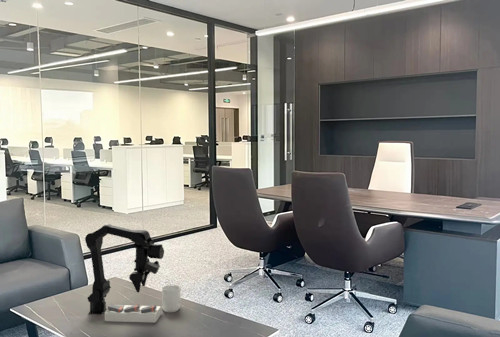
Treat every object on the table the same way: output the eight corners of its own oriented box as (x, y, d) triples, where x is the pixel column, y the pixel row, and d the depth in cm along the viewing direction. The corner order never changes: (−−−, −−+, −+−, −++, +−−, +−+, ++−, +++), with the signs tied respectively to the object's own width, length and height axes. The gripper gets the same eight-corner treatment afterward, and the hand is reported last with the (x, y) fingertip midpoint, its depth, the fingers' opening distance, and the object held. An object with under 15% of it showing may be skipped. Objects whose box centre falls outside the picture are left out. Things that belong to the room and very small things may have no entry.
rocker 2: (124, 313, 201) (123, 309, 201) (127, 310, 204) (126, 307, 204) (137, 310, 201) (136, 307, 201) (139, 307, 204) (139, 304, 204)
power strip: (104, 321, 200) (104, 312, 200) (112, 312, 210) (112, 304, 210) (155, 322, 199) (155, 313, 199) (160, 314, 209) (160, 305, 209)
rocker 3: (141, 313, 201) (140, 310, 200) (143, 311, 204) (142, 307, 204) (154, 310, 200) (153, 307, 200) (156, 308, 203) (155, 305, 203)
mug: (172, 314, 209) (173, 291, 209) (158, 311, 213) (158, 289, 213) (186, 306, 220) (186, 284, 220) (172, 303, 224) (172, 282, 224)
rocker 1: (107, 309, 201) (108, 306, 201) (110, 307, 205) (110, 303, 204) (120, 313, 201) (121, 309, 201) (122, 310, 204) (123, 307, 204)
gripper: (153, 263, 197) (152, 296, 197) (162, 253, 215) (162, 283, 216) (129, 262, 197) (128, 295, 198) (140, 252, 216) (140, 282, 216)
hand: (140, 289), depth 207 cm, fingers open, 9 cm apart
